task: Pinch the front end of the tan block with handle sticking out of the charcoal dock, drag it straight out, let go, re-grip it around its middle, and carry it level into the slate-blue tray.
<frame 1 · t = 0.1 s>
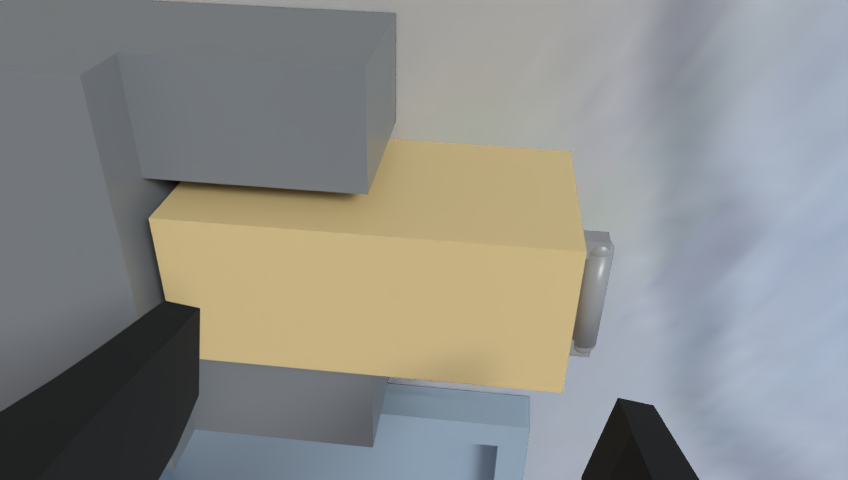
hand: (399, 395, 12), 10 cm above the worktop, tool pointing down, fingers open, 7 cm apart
tray: (327, 463, 28), on the worktop
dock: (308, 197, 22), on the worktop
tan block with handle: (396, 201, 22), on the worktop
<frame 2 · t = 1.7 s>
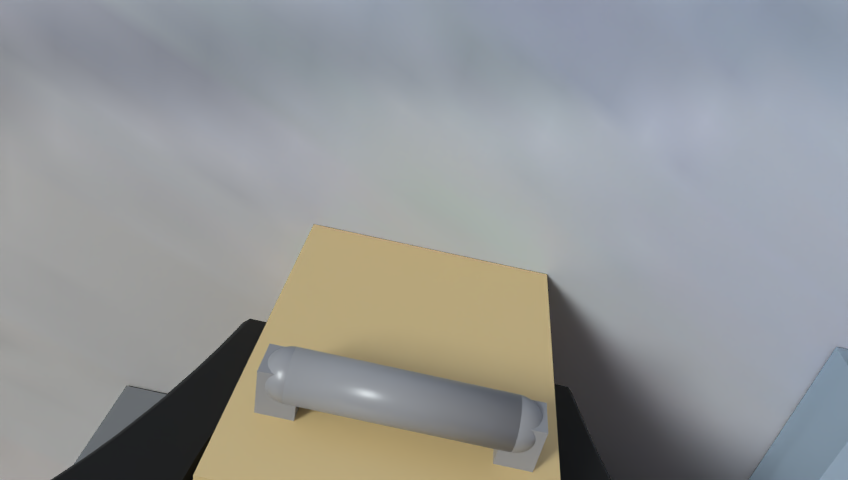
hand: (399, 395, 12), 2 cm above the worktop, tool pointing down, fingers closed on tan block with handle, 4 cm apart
tan block with handle: (387, 440, 15), on the worktop, touching gripper
when the fingers open (2 cm above the worktop, at t = 4.5 s): tan block with handle stays where it is, on the worktop.
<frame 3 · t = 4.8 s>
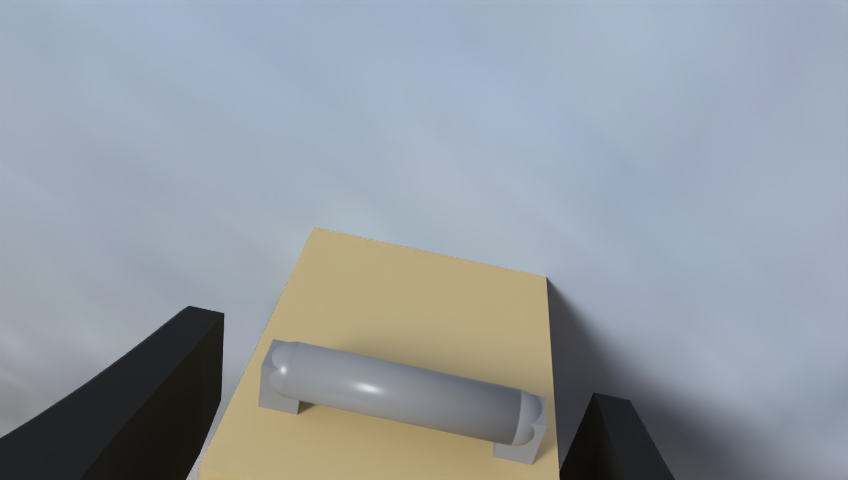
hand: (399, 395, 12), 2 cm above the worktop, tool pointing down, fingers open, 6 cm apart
tan block with handle: (388, 437, 15), on the worktop
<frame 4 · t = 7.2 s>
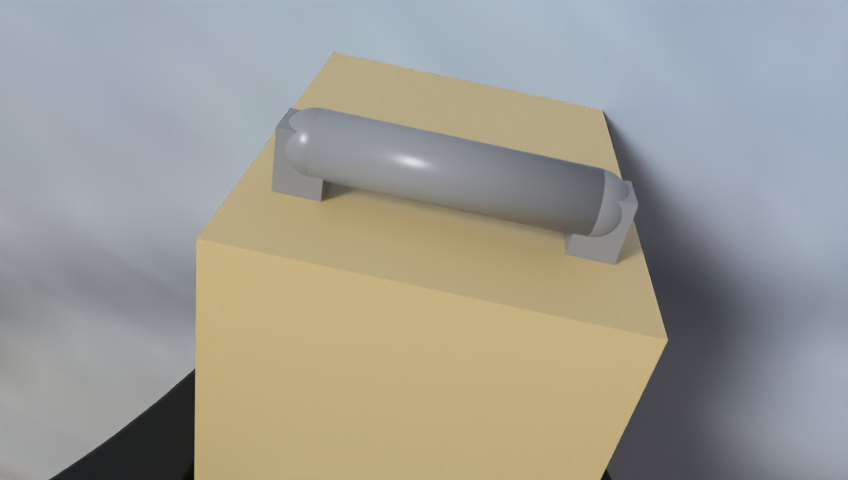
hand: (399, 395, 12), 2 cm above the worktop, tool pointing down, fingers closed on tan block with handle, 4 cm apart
tan block with handle: (412, 328, 13), on the worktop, touching gripper
when the fingers open (3 cm above the worktop, at t = 12.7 s): tan block with handle drops 1 cm, resting on tray.
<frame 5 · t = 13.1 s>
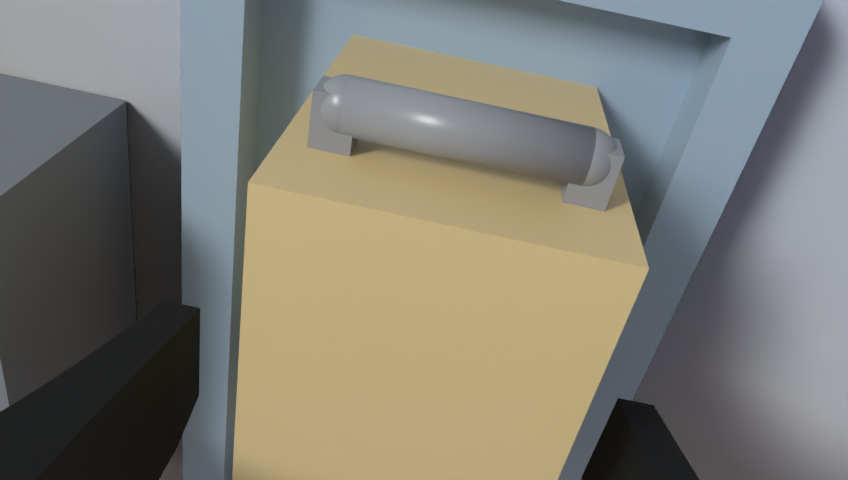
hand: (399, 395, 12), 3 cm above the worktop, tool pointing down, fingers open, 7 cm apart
tray: (421, 281, 15), on the worktop
tan block with handle: (421, 294, 15), resting on tray
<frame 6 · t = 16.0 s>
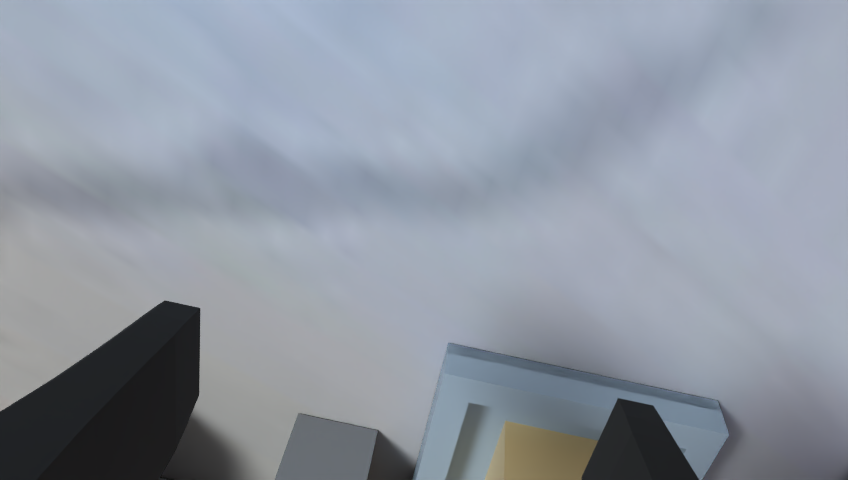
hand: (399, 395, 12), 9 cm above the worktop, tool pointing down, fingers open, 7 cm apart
dock: (224, 447, 27), on the worktop
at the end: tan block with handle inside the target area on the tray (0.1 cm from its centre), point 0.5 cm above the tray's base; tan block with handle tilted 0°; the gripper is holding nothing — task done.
